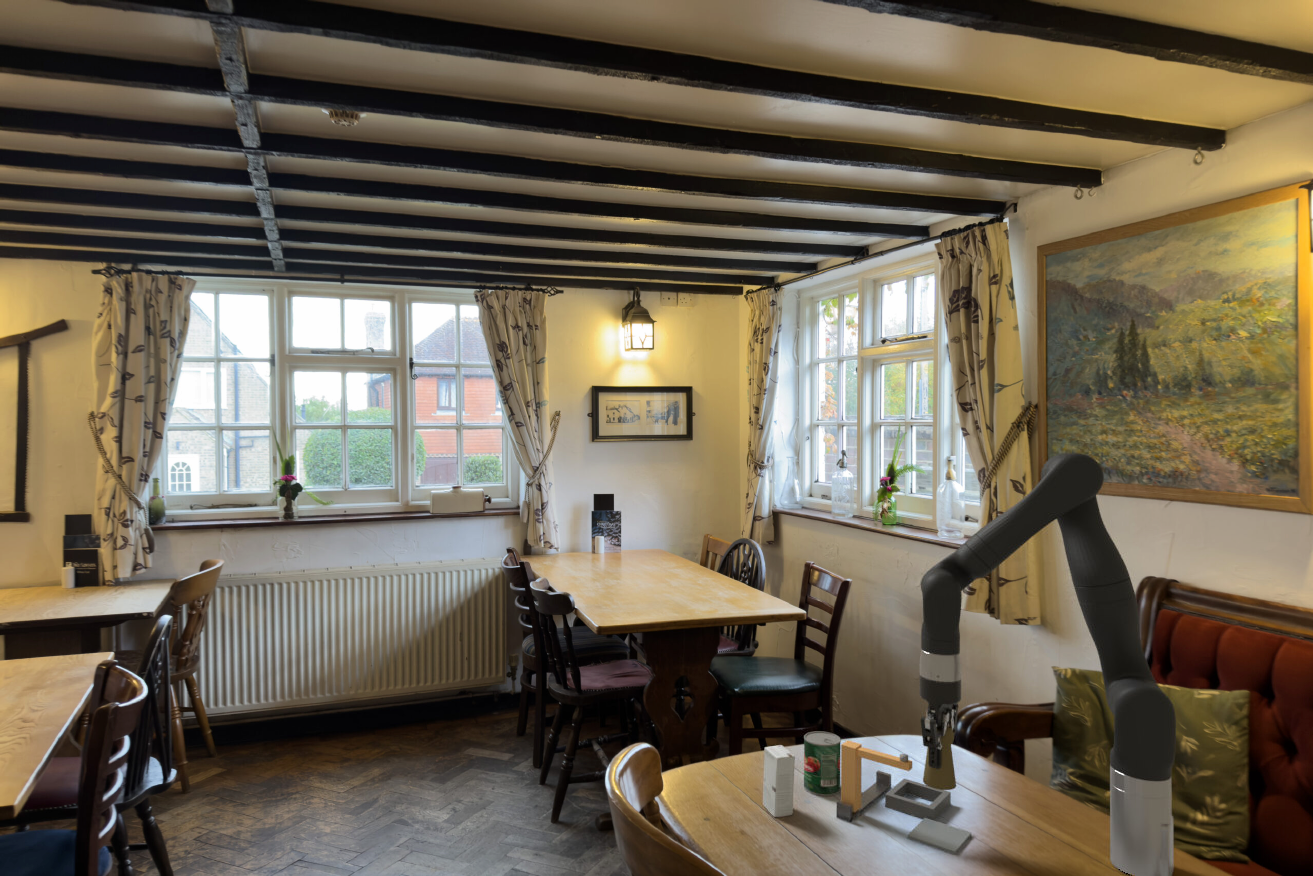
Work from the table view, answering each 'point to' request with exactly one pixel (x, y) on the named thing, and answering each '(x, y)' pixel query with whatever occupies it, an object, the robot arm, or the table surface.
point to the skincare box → (778, 781)
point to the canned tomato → (822, 763)
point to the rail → (865, 797)
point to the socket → (915, 808)
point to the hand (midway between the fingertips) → (939, 762)
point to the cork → (942, 766)
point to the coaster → (939, 835)
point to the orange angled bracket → (852, 769)
